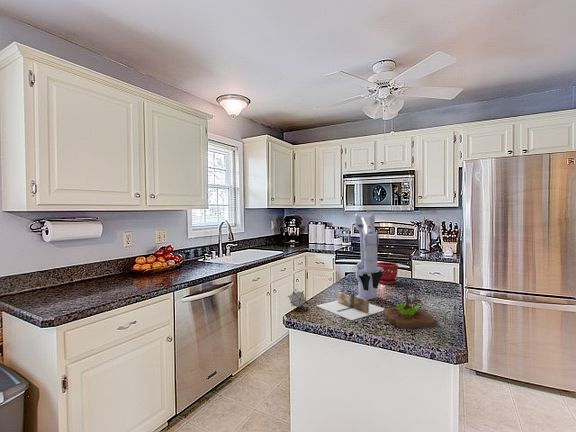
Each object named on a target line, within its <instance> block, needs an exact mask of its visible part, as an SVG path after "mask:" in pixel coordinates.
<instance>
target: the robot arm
mask: <svg viewBox="0 0 576 432" xmlns="http://www.w3.org/2000/svg"><path fill="white" fill-rule="evenodd" d="M375 217H376V215H375V214H374V213H357V212H356V213H355V214H354V227H355V230H356V231H358V234H359V239H360V240H359V241H360V242H359V245H360V247H359V248H360V261H359V262H358V263H357V264H356V265H355V279H356V280H357V281H358V283H357V284H358V286H357V287H358V290H357V291H358V292H357V293H358V294H357V295H354V297H358V298H361V299H364V300H367V301H370V300H372V299H373V300H374V299H377V298H379V295H378V287H379V284H380V283H379V281H380V279H381V277H382V275H383V273H380V272H383V271H384V270H383V268H381V267H377V263H378V246H379V241H380V238H379V234H378V233H379V232H376V229H375V227H374V226H375V222H376V220H375V219H376V218H375Z"/></svg>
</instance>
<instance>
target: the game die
mask: <svg viewBox="0 0 576 432" xmlns="http://www.w3.org/2000/svg"><path fill="white" fill-rule="evenodd" d="M304 293H305V292H304V290H302V291H299V290H297V288H295V289H294V291H292V293H291V294H290V295H287V297H288V298H289V300H290V304H291V307H297V308H298V310H300V309H301V306H303V304H305V303H307V302H309V301H308V300H306V299H307V298H306V297H305V294H304Z"/></svg>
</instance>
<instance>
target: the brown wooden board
mask: <svg viewBox="0 0 576 432" xmlns="http://www.w3.org/2000/svg"><path fill="white" fill-rule="evenodd" d="M369 304H370V300H364V299H361V298H358V297H355V296H354V308H356V309H358V310H361V311H364V312H367V313H368V312H369Z"/></svg>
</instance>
